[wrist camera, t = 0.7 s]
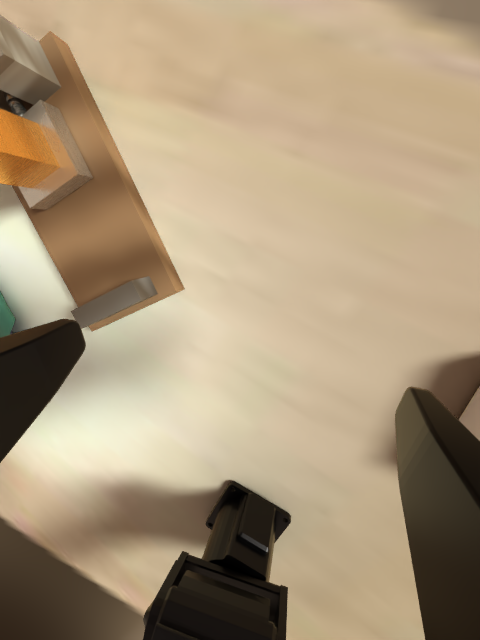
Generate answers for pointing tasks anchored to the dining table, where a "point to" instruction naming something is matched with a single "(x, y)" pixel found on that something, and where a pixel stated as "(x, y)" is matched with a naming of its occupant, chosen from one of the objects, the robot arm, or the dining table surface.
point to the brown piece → (87, 192)
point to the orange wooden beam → (39, 153)
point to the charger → (472, 415)
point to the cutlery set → (5, 318)
